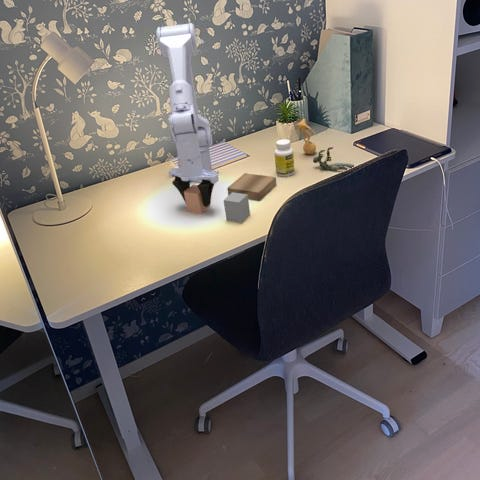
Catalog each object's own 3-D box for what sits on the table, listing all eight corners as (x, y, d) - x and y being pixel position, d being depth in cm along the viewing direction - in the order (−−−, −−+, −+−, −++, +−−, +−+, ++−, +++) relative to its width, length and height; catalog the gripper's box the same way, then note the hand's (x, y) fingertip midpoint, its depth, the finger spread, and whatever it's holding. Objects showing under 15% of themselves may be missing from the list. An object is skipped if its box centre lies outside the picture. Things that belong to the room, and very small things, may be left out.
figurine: (324, 154, 169) (322, 116, 162) (312, 161, 165) (310, 123, 159) (303, 149, 174) (301, 112, 168) (291, 155, 171) (288, 118, 164)
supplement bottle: (288, 178, 157) (285, 146, 152) (272, 175, 160) (269, 143, 155) (298, 171, 160) (296, 139, 155) (282, 168, 163) (280, 137, 158)
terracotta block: (187, 211, 146) (183, 191, 143) (196, 204, 150) (193, 184, 147) (201, 214, 144) (197, 193, 141) (210, 206, 148) (207, 186, 144)
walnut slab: (228, 197, 152) (227, 187, 150) (246, 182, 159) (244, 173, 157) (260, 202, 147) (258, 192, 145) (276, 186, 154) (275, 177, 153)
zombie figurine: (358, 155, 149) (309, 150, 156) (359, 177, 152) (311, 171, 160) (366, 147, 152) (317, 143, 160) (366, 169, 156) (318, 164, 164)
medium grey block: (226, 220, 140) (223, 200, 136) (235, 212, 143) (232, 192, 140) (241, 223, 137) (238, 202, 134) (250, 215, 141) (247, 194, 138)
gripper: (157, 160, 140) (167, 206, 147) (204, 165, 133) (212, 214, 140) (173, 149, 145) (182, 195, 152) (219, 154, 138) (226, 202, 145)
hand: (197, 203), depth 146 cm, fingers open, 6 cm apart
